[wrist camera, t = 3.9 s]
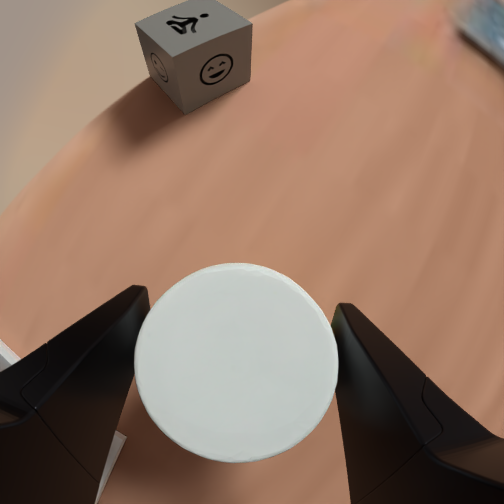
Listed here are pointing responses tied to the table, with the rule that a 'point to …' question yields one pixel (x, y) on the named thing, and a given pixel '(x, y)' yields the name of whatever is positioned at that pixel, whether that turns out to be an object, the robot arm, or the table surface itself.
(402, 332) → the table surface
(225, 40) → the dice cube
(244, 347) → the supplement bottle
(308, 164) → the table surface
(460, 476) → the robot arm
